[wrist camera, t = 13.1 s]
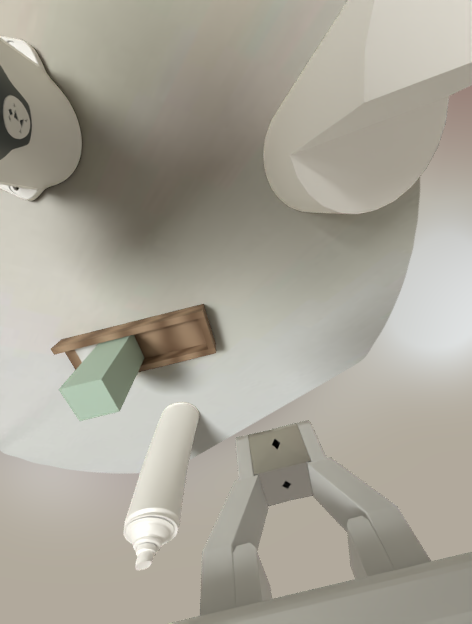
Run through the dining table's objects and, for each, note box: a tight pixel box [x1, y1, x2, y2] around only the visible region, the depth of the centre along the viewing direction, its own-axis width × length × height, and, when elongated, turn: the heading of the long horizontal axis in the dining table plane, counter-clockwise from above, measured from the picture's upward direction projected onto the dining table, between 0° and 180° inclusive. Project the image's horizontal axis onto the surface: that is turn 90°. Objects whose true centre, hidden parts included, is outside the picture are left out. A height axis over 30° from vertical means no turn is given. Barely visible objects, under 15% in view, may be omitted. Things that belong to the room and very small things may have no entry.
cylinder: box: [263, 0, 472, 214], centre depth 26 cm, size 17×17×28 cm
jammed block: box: [59, 335, 144, 421], centre depth 41 cm, size 6×6×14 cm
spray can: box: [124, 402, 199, 570], centre depth 46 cm, size 12×11×25 cm
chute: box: [51, 304, 216, 372], centre depth 47 cm, size 28×9×4 cm, turn 103°
